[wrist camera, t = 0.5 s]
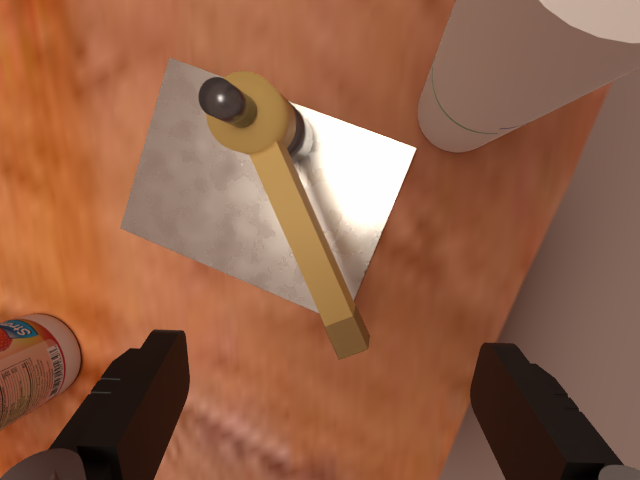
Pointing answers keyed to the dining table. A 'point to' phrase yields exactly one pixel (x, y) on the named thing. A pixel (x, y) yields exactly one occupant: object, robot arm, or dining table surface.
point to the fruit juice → (34, 364)
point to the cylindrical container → (522, 64)
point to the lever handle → (293, 207)
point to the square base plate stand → (257, 186)
